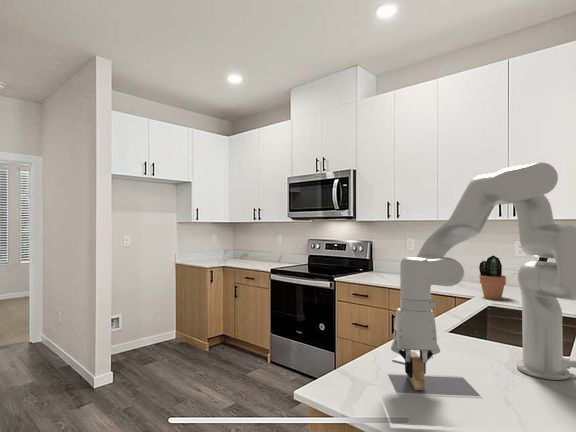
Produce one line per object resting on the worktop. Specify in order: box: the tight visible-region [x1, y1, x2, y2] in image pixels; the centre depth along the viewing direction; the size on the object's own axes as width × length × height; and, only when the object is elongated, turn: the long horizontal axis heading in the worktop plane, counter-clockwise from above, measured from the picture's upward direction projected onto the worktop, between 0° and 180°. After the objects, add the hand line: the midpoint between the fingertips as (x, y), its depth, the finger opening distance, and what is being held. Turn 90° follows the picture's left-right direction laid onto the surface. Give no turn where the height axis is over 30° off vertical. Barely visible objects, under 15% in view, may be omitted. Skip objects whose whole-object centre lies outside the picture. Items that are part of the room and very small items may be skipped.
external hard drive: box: [391, 350, 434, 365], centre depth 115 cm, size 2×8×12 cm
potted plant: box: [478, 255, 507, 301], centre depth 216 cm, size 14×14×25 cm
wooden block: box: [406, 350, 425, 390], centre depth 96 cm, size 2×9×6 cm, turn 175°
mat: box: [387, 372, 483, 399], centre depth 96 cm, size 20×13×1 cm, turn 85°
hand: (415, 375), depth 96 cm, fingers closed on wooden block, 2 cm apart
